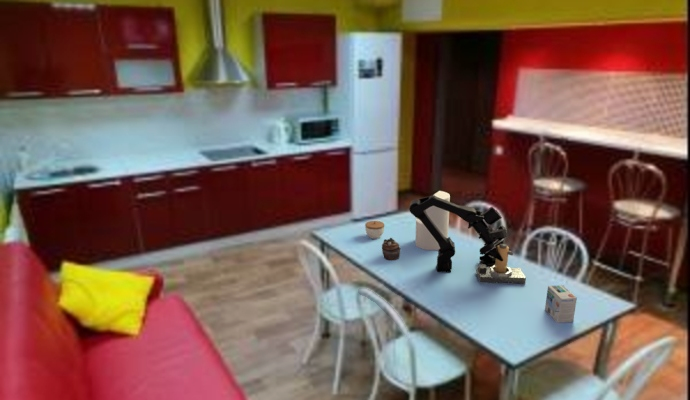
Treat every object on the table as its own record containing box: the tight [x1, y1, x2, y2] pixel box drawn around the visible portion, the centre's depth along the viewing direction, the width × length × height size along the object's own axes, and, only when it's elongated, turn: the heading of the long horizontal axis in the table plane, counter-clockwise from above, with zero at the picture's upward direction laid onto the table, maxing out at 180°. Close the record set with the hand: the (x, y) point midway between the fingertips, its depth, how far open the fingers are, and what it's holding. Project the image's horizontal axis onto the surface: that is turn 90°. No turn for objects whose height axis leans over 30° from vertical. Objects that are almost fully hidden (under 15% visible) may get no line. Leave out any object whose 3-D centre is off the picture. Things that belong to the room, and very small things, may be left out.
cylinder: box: [414, 190, 451, 251], centre depth 256 cm, size 17×17×28 cm
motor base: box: [475, 263, 527, 285], centre depth 220 cm, size 20×10×5 cm, turn 85°
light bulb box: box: [544, 284, 578, 324], centre depth 189 cm, size 11×7×11 cm, turn 5°
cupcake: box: [381, 237, 402, 261], centre depth 244 cm, size 10×10×10 cm
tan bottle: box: [495, 243, 514, 273], centre depth 217 cm, size 7×5×13 cm
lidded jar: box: [364, 220, 385, 240], centre depth 270 cm, size 11×11×9 cm
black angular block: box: [479, 252, 496, 267], centre depth 235 cm, size 10×7×7 cm
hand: (504, 258), depth 217 cm, fingers closed on tan bottle, 5 cm apart
